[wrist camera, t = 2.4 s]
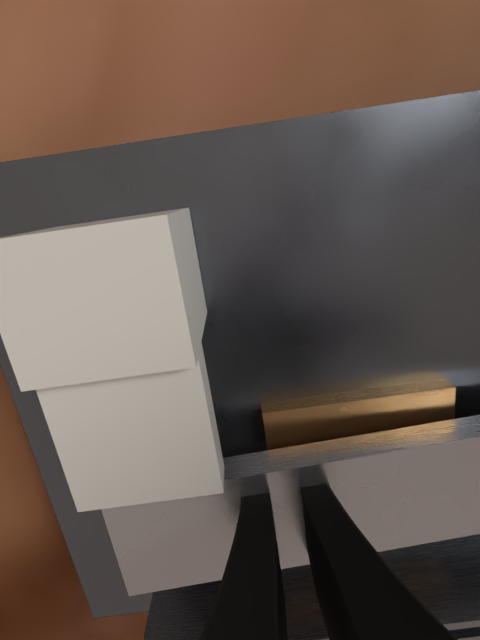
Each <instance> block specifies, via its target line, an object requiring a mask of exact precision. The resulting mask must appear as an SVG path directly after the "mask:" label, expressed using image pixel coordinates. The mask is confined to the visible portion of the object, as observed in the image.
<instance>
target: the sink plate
mask: <svg viewBox="0 0 480 640" xmlns="http://www.w3.org/2000/svg"><path fill="white" fill-rule="evenodd" d="M188 207H189V210H190V216H191V222H192V227H193V233H194V239H195V245H196V250H197V256H198V262H199V267H200V273H201V279H202V285H203V290H204V296H205V302H206V308H207V316H206V321H205V326H204V331H203V336H202V341H201V342H202V347H203V353H204V358H205V364H206V369H207V375H208V380H209V386H210V391H211V396H212V402H213V407H214V413H215V418H216V424H217V429H218V434H219V440H220V445H221V451H222V456H223V458H226V457H232V456H237V455H243V454H249V453H255V452H261V451H267V450H273V449H279V448H285V447H291V446H297V445H303V444H309V443H315V442H321V441H327V440H332V439H338V438H344V437H350V436H356V435H362V434H368V433H374V432H380V431H386V430H392V429H398V428H404V427H410V426H416V425H422V424H427V423H433V422H439V421H445V420H451V419H457V418H463V417H469V416H475V415H480V90H478V91H471V92H465V93H458V94H451V95H445V96H438V97H432V98H425V99H418V100H412V101H405V102H398V103H392V104H385V105H378V106H372V107H365V108H358V109H352V110H345V111H339V112H332V113H325V114H319V115H312V116H305V117H299V118H292V119H285V120H279V121H272V122H266V123H259V124H252V125H246V126H239V127H232V128H226V129H219V130H212V131H206V132H199V133H193V134H186V135H179V136H173V137H166V138H159V139H153V140H146V141H139V142H133V143H126V144H120V145H113V146H106V147H100V148H93V149H86V150H80V151H73V152H66V153H60V154H53V155H47V156H40V157H33V158H27V159H20V160H13V161H7V162H0V237H6V236H11V235H16V234H22V233H27V232H32V231H38V230H43V229H48V228H53V227H59V226H66V225H72V224H79V223H86V222H93V221H100V220H106V219H113V218H120V217H127V216H134V215H141V214H147V213H154V212H161V211H168V210H175V209H181V208H188ZM0 365H1V367H2V370H3V373H4V376H5V378H6V381H7V384H8V386H9V389H10V392H11V395H12V397H13V400H14V403H15V405H16V408H17V411H18V414H19V416H20V419H21V422H22V424H23V427H24V430H25V433H26V435H27V438H28V441H29V443H30V446H31V449H32V452H33V454H34V457H35V460H36V463H37V465H38V468H39V471H40V473H41V476H42V479H43V482H44V484H45V487H46V490H47V492H48V495H49V498H50V501H51V503H52V506H53V509H54V511H55V514H56V517H57V520H58V522H59V525H60V528H61V530H62V533H63V536H64V539H65V541H66V544H67V547H68V550H69V552H70V555H71V558H72V560H73V563H74V566H75V569H76V571H77V574H78V577H79V579H80V582H81V585H82V588H83V590H84V593H85V596H86V598H87V601H88V604H89V607H90V609H91V612H92V615H93V617H94V618H99V617H107V616H115V615H123V614H131V613H139V612H147V611H149V615H148V620H147V625H146V630H145V635H144V640H200V637H201V635H202V632H203V630H204V627H205V625H206V622H207V620H208V617H209V614H210V611H211V608H212V606H213V603H214V600H215V597H216V594H217V592H218V589H219V586H220V583H221V580H218V581H212V582H207V583H201V584H196V585H190V586H184V587H179V588H173V589H168V590H162V591H156V592H151V593H145V594H140V595H134V596H129V595H128V592H127V589H126V586H125V583H124V579H123V576H122V573H121V570H120V567H119V564H118V561H117V557H116V554H115V551H114V548H113V545H112V542H111V539H110V536H109V532H108V529H107V526H106V523H105V520H104V517H103V514H102V510H101V509H99V510H91V511H84V512H78V511H77V508H76V506H75V503H74V500H73V497H72V494H71V491H70V488H69V485H68V482H67V479H66V476H65V474H64V471H63V468H62V465H61V462H60V459H59V456H58V453H57V450H56V447H55V444H54V442H53V439H52V436H51V433H50V430H49V427H48V424H47V421H46V418H45V415H44V412H43V410H42V407H41V404H40V401H39V398H38V395H37V392H36V390H30V391H23V392H21V390H20V387H19V385H18V382H17V379H16V376H15V374H14V371H13V368H12V365H11V362H10V360H9V357H8V354H7V351H6V348H5V346H4V343H3V340H2V337H1V334H0ZM378 553H379V555H380V556H381V557H382V558H383V560H384V561H385V562H386V563H387V564H388V565H389V567H390V568H391V569H392V570H393V571H394V572H395V574H396V575H397V576H398V577H399V578H400V579H401V580H402V582H403V583H404V584H405V585H406V586H407V587H408V588H409V589H410V590H411V592H412V593H413V594H414V595H415V596H416V597H417V598H418V599H419V600H420V601H421V602H422V603H423V605H424V606H425V607H426V608H427V609H428V610H429V611H430V612H431V613H432V614H433V615H434V616H435V617H436V618H437V619H438V620H439V621H440V622H441V623H442V624H443V625H444V626H445V627H446V628H447V629H448V630H449V631H450V632H451V633H452V634H453V635H454V636H455V637H456V638H457V639H458V640H480V534H476V535H470V536H465V537H459V538H454V539H448V540H442V541H437V542H431V543H426V544H420V545H414V546H409V547H403V548H398V549H392V550H386V551H381V552H378ZM281 573H282V580H283V587H284V594H285V603H286V619H287V635H288V640H329V637H328V633H327V630H326V627H325V623H324V620H323V616H322V613H321V610H320V606H319V603H318V599H317V596H316V591H315V586H314V581H313V576H312V571H311V566H310V564H308V565H302V566H297V567H291V568H285V569H281Z"/></svg>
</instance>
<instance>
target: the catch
mask: <svg viewBox="0 0 480 640" xmlns="http://www.w3.org/2000/svg"><path fill="white" fill-rule="evenodd" d="M206 316H207V308H206V302H205V296H204V290H203V285H202V279H201V273H200V267H199V262H198V256H197V250H196V245H195V239H194V233H193V227H192V222H191V216H190V210H189V207H188V208H181V209H175V210H168V211H161V212H154V213H147V214H141V215H134V216H127V217H120V218H113V219H106V220H100V221H93V222H86V223H79V224H72V225H66V226H59V227H53V228H48V229H43V230H38V231H32V232H27V233H22V234H16V235H11V236H6V237H0V334H1V337H2V340H3V343H4V346H5V348H6V351H7V354H8V357H9V360H10V362H11V365H12V368H13V371H14V374H15V376H16V379H17V382H18V385H19V387H20V390H21V392H23V391H30V390H36V392H37V395H38V398H39V401H40V404H41V407H42V410H43V412H44V415H45V418H46V421H47V424H48V427H49V430H50V433H51V436H52V439H53V442H54V444H55V447H56V450H57V453H58V456H59V459H60V462H61V465H62V468H63V471H64V474H65V476H66V479H67V482H68V485H69V488H70V491H71V494H72V497H73V500H74V503H75V506H76V508H77V511H78V512H84V511H91V510H99V509H107V508H114V507H122V506H129V505H137V504H145V503H152V502H160V501H168V500H175V499H183V498H191V497H198V496H206V495H214V494H221V493H224V462H223V456H222V451H221V445H220V440H219V434H218V429H217V424H216V418H215V413H214V407H213V402H212V396H211V391H210V386H209V380H208V375H207V369H206V364H205V358H204V353H203V347H202V342H201V341H202V336H203V331H204V326H205V321H206Z"/></svg>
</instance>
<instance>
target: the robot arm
mask: <svg viewBox="0 0 480 640" xmlns="http://www.w3.org/2000/svg"><path fill="white" fill-rule="evenodd" d="M301 496H302V505H303V514H304V523H305V532H306V541H307V550H308V556H309V561H310V566H311V571H312V576H313V581H314V586H315V591H316V596H317V599H318V603H319V606H320V610H321V613H322V616H323V620H324V623H325V627H326V630H327V633H328V637H329V640H458V639H457V638H456V637H455V636H454V635H453V634H452V633H451V632H450V631H449V630H448V629H447V628H446V627H445V626H444V625H443V624H442V623H441V622H440V621H439V620H438V619H437V618H436V617H435V616H434V615H433V614H432V613H431V612H430V611H429V610H428V609H427V608H426V607H425V606H424V605H423V603H422V602H421V601H420V600H419V599H418V598H417V597H416V596H415V595H414V594H413V593H412V592H411V590H410V589H409V588H408V587H407V586H406V585H405V584H404V583H403V582H402V580H401V579H400V578H399V577H398V576H397V575H396V574H395V572H394V571H393V570H392V569H391V568H390V567H389V565H388V564H387V563H386V562H385V561H384V560H383V558H382V557H381V556H380V555H379V553H378V552H377V551H376V550H375V548H374V547H373V546H372V545H371V544H370V542H369V541H368V540H367V539H366V537H365V536H364V535H363V533H362V532H361V531H360V530H359V528H358V527H357V526H356V524H355V523H354V521H353V520H352V519H351V517H350V516H349V515H348V513H347V512H346V510H345V509H344V508H343V506H342V505H341V503H340V502H339V500H338V499H337V497H336V496H335V494H334V492H333V491H332V489H331V487H330V486H328V485H327V484H326V483H325V484H319V485H313V486H307V487H301ZM200 640H288V635H287V619H286V603H285V594H284V587H283V580H282V573H281V566H280V559H279V552H278V545H277V538H276V531H275V524H274V517H273V510H272V503H271V496H270V492H269V493H263V494H257V495H250V496H245V497H244V498H243V499H242V500H241V505H240V511H239V517H238V522H237V527H236V531H235V535H234V539H233V543H232V547H231V550H230V554H229V557H228V560H227V564H226V567H225V571H224V574H223V577H222V580H221V583H220V586H219V589H218V592H217V594H216V597H215V600H214V603H213V606H212V608H211V611H210V614H209V617H208V620H207V622H206V625H205V627H204V630H203V632H202V635H201V637H200Z"/></svg>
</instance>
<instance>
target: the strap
mask: <svg viewBox="0 0 480 640" xmlns="http://www.w3.org/2000/svg"><path fill="white" fill-rule="evenodd" d="M223 462H224V493H221V494H214V495H206V496H198V497H191V498H183V499H175V500H168V501H160V502H152V503H145V504H137V505H129V506H122V507H114V508H107V509H101V510H102V514H103V517H104V520H105V523H106V526H107V529H108V532H109V536H110V539H111V542H112V545H113V548H114V551H115V554H116V557H117V561H118V564H119V567H120V570H121V573H122V576H123V579H124V583H125V586H126V589H127V592H128V595H129V596H134V595H140V594H145V593H151V592H156V591H162V590H168V589H173V588H179V587H184V586H190V585H196V584H201V583H207V582H212V581H218V580H222V577H223V574H224V571H225V567H226V564H227V560H228V557H229V554H230V550H231V547H232V543H233V539H234V535H235V531H236V527H237V522H238V517H239V511H240V505H241V500H242V499H243V498H244V497H245V496H250V495H257V494H263V493H269V492H270V496H271V503H272V510H273V517H274V524H275V531H276V538H277V545H278V552H279V559H280V566H281V569H285V568H291V567H297V566H302V565H308V564H310V561H309V556H308V550H307V541H306V532H305V523H304V514H303V505H302V496H301V487H307V486H313V485H319V484H325V483H326V484H327V485H328V486H330V487H331V489H332V491H333V492H334V494H335V496H336V497H337V499H338V500H339V502H340V503H341V505H342V506H343V508H344V509H345V510H346V512H347V513H348V515H349V516H350V517H351V519H352V520H353V521H354V523H355V524H356V526H357V527H358V528H359V530H360V531H361V532H362V533H363V535H364V536H365V537H366V539H367V540H368V541H369V542H370V544H371V545H372V546H373V547H374V548H375V550H376V551H377V552H381V551H386V550H392V549H398V548H403V547H409V546H414V545H420V544H426V543H431V542H437V541H442V540H448V539H454V538H459V537H465V536H470V535H476V534H480V415H475V416H469V417H463V418H457V419H451V420H445V421H439V422H433V423H427V424H422V425H416V426H410V427H404V428H398V429H392V430H386V431H380V432H374V433H368V434H362V435H356V436H350V437H344V438H338V439H332V440H327V441H321V442H315V443H309V444H303V445H297V446H291V447H285V448H279V449H273V450H267V451H261V452H255V453H249V454H243V455H237V456H232V457H226V458H223Z"/></svg>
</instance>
